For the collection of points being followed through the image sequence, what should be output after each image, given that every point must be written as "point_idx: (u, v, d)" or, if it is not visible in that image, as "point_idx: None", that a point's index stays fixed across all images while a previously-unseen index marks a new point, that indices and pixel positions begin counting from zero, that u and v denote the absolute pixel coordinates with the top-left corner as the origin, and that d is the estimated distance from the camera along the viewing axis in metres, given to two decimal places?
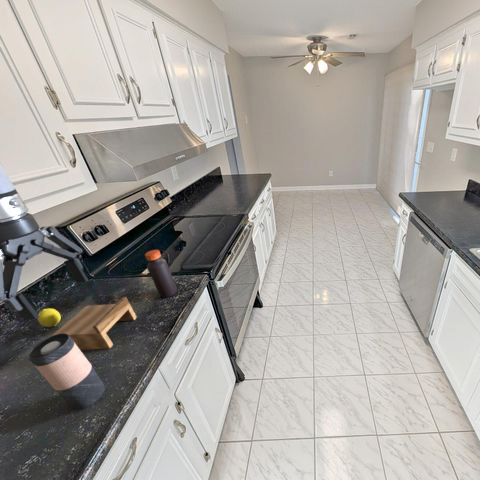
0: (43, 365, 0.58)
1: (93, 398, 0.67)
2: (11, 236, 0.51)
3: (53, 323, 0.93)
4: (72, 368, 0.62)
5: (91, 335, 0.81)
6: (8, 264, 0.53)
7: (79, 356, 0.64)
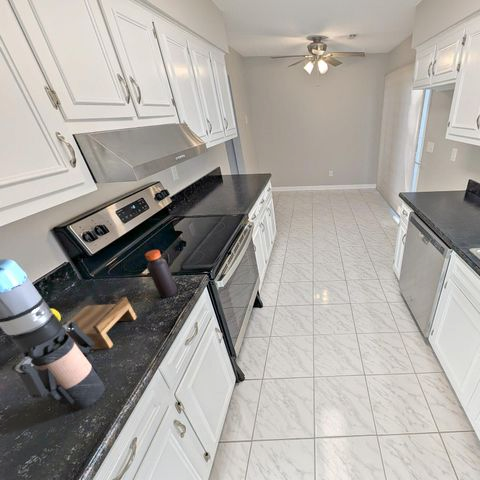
0: (43, 365, 0.58)
1: (93, 398, 0.67)
2: (38, 343, 0.56)
3: None
4: (72, 368, 0.62)
5: (91, 335, 0.81)
6: None
7: (79, 355, 0.64)
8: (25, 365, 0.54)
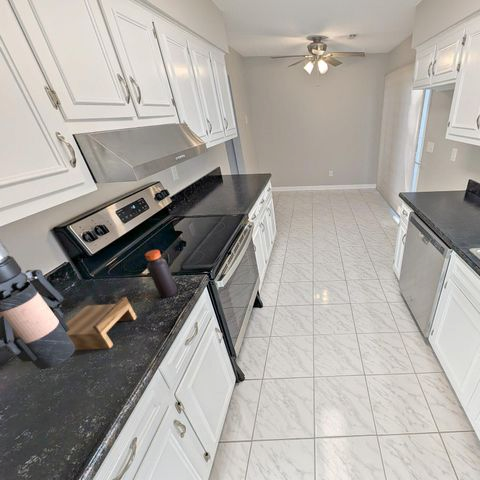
0: None
1: (60, 357, 0.60)
2: None
3: None
4: (34, 320, 0.55)
5: (91, 335, 0.81)
6: None
7: (42, 307, 0.56)
8: None
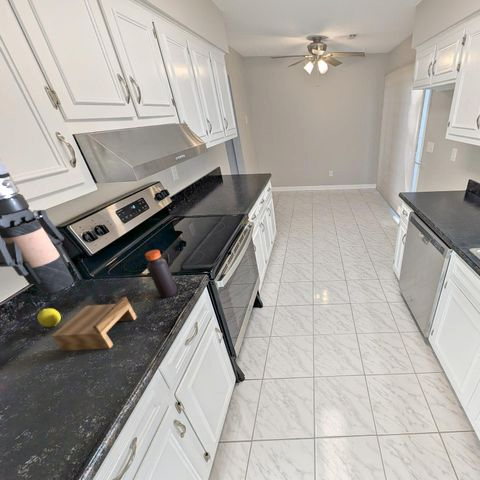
0: (10, 237, 0.63)
1: (60, 284, 0.72)
2: (4, 212, 0.60)
3: (53, 323, 0.93)
4: (39, 248, 0.66)
5: (91, 335, 0.81)
6: None
7: (46, 239, 0.68)
8: None
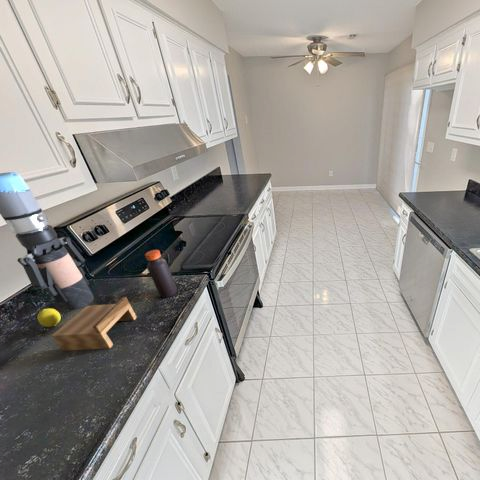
0: (43, 263, 0.72)
1: (83, 301, 0.81)
2: (38, 242, 0.70)
3: (53, 323, 0.93)
4: (66, 271, 0.76)
5: (91, 335, 0.81)
6: None
7: (71, 263, 0.78)
8: (28, 258, 0.69)
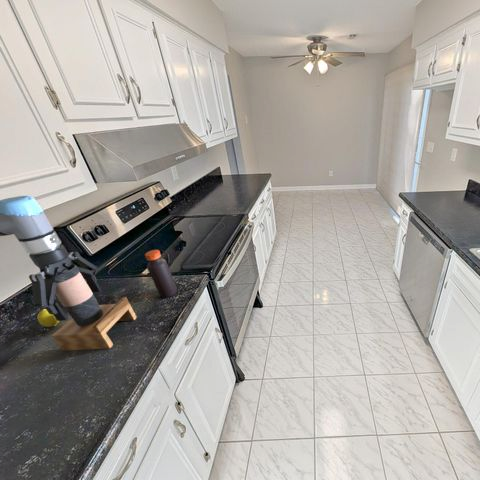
0: None
1: (93, 318, 0.85)
2: (50, 262, 0.73)
3: (53, 323, 0.93)
4: (78, 289, 0.80)
5: (91, 335, 0.81)
6: (47, 281, 0.75)
7: (82, 281, 0.81)
8: (39, 274, 0.71)
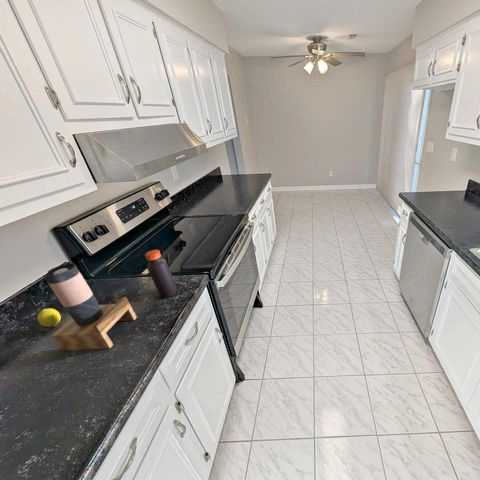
0: (56, 283, 0.76)
1: (93, 318, 0.85)
2: None
3: (53, 323, 0.93)
4: (78, 289, 0.80)
5: (91, 335, 0.81)
6: None
7: (82, 281, 0.81)
8: None
